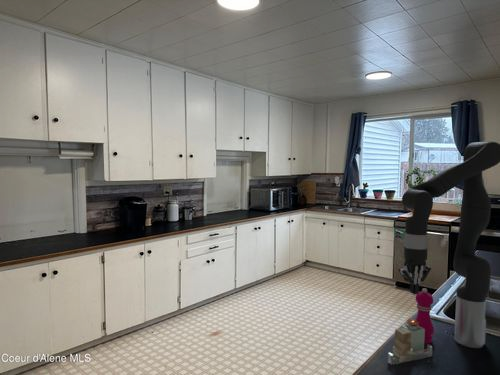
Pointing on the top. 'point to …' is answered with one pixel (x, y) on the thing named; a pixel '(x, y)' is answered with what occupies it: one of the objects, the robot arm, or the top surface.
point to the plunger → (412, 324)
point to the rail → (415, 355)
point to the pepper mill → (425, 314)
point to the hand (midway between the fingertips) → (414, 293)
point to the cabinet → (416, 338)
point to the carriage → (402, 345)
